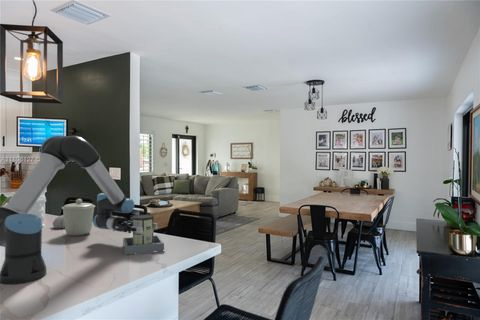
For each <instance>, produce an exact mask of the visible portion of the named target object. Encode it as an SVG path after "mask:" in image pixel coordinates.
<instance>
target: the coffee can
mask: <svg viewBox="0 0 480 320" xmlns="http://www.w3.org/2000/svg"><path fill="white" fill-rule="evenodd" d="M154 217H155V216H154V215H153V214H136V215H134V216H132V221H133V226H136V227H143V233H137V232H132V237H133V245H143V244H154V243H153V235H154V229H153V223H154ZM133 245H132V246H133Z"/></svg>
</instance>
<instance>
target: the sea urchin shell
mask: <svg viewBox="0 0 480 320" xmlns="http://www.w3.org/2000/svg"><path fill="white" fill-rule="evenodd" d="M52 226H53V228H55V229H65V223H64V214H61V215H59V216H57V217H56V218H55V219H54V220H53V221H52Z"/></svg>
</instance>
